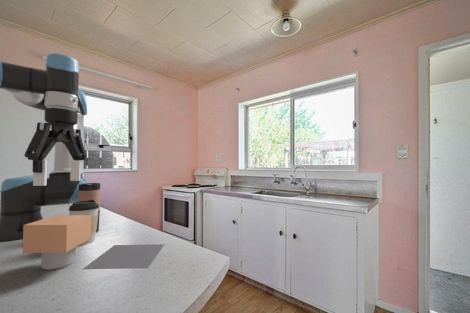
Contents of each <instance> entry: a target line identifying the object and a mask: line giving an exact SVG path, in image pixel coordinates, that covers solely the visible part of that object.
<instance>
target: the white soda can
mask: <svg viewBox="0 0 470 313" xmlns="http://www.w3.org/2000/svg"><path fill="white" fill-rule="evenodd" d="M76 248H77V247H75V248H73V249H71V250H69V251H68V252H58V253H40V254H41V255H40V256H41V257H40V258H41V260H40V267H41V269H43V270H45V271H46V270H47V271H49V270H57V269H62V268H64V267H68V266H70V265H72V264H73V263H75V261H76V258H77V257H76V253H77V252H76V251H77V250H76Z"/></svg>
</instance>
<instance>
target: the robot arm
mask: <svg viewBox="0 0 470 313" xmlns="http://www.w3.org/2000/svg"><path fill="white" fill-rule="evenodd" d="M79 81H80V64H79V61H78V60H77V59H76V58H73V56H72V57H71V56H69V55H67V54H63V53H56V52H55V53H54V52H53V53H49V54H47V55H46V63H45V70H44V69H39V68H35V67H29V66H23V65H18V64H16V63H9V62H4V61H0V89H3V90H6V91H7V92H9V93H10V94H12V97H14V99H15V100H16V101H18V102H19V103H21V104H23V105H25V106H28V107H31V108H32V109H33V108H34V109H36V110H40V111H44V121H45V122H37V124H36V130H35V132H34V134H33V136H32V138H31V141H30V143H29V144H28V146H27V149H26V150H25V152H24V157H25V158H27V159H28V160H29V161H32V171H31V172H32V173H33V175H23V176H18V177H17V176H16V177H9V178H5V179H4V180H3V181H2V182H1V186H0V188H1V189H0V241H1V242H2V241H3V242H4V241H6V242H7V241H15V240H23V226H24V225H26V224H29V223H32V222H36V221H39V220H42V219H44V218H43V215H42V211H41V210H42V207H49V206H59V205H60V206H61V205H72V204H73V203H75V202H78V193H79V184H80V185H81V184H84V183H86V180H87V179H86V177H85V176H83V173H82V161H85V160H86V158H87V153H86V150H85V149H86V148H85V146H84V143H83V140H82V139H83V138H82V134H81V133H82V131H81V129H80V121H81V120H83V119H84V116H87V115H88V104H87V98H86V94H85V92H84V91H82V90H79V85H80V84H79V83H80V82H79ZM53 147H54V161H53V162H54V163H53V170H52V171H50V172H49V173H48V160H46V159H45V158H46V157H47V156H48V155H49V153H50V152H51V151H52V149H53Z"/></svg>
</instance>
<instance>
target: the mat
mask: <svg viewBox="0 0 470 313" xmlns="http://www.w3.org/2000/svg"><path fill="white" fill-rule="evenodd" d="M165 245H166V244H164V243H163V244H159V243H158V244H153V243H152V244H113V246H111V247H110V248H109V249H107V250H106V251H105V252H103V253H102V254H100V255H99V256H98V257H97V258H95V259H94V260H93V261H91V262H90V263H89V264H87V265H86V266H84V267H83V268H82V270H113V269H114V270H115V269H116V270H118V269H121V270H122V269H149V267H150V266H151V264H152V263H153V262H154V260H155V259H156V258H157V256H158V255H159V253H160V252H161V251H162V250H163V247H164V246H165Z"/></svg>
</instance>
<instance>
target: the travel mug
mask: <svg viewBox="0 0 470 313" xmlns="http://www.w3.org/2000/svg"><path fill="white" fill-rule="evenodd" d="M88 200H94V201H95V202H96V204H99V208H98V221H97V229H96V233H98V232H99V230H100V229H99V228H100V215H101V214H100V213H101V212H100V211H101V183H99V182H88V183H87V182H85V183H84V184H81V185H80V184H79V193H78V202H80V201H88Z"/></svg>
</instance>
